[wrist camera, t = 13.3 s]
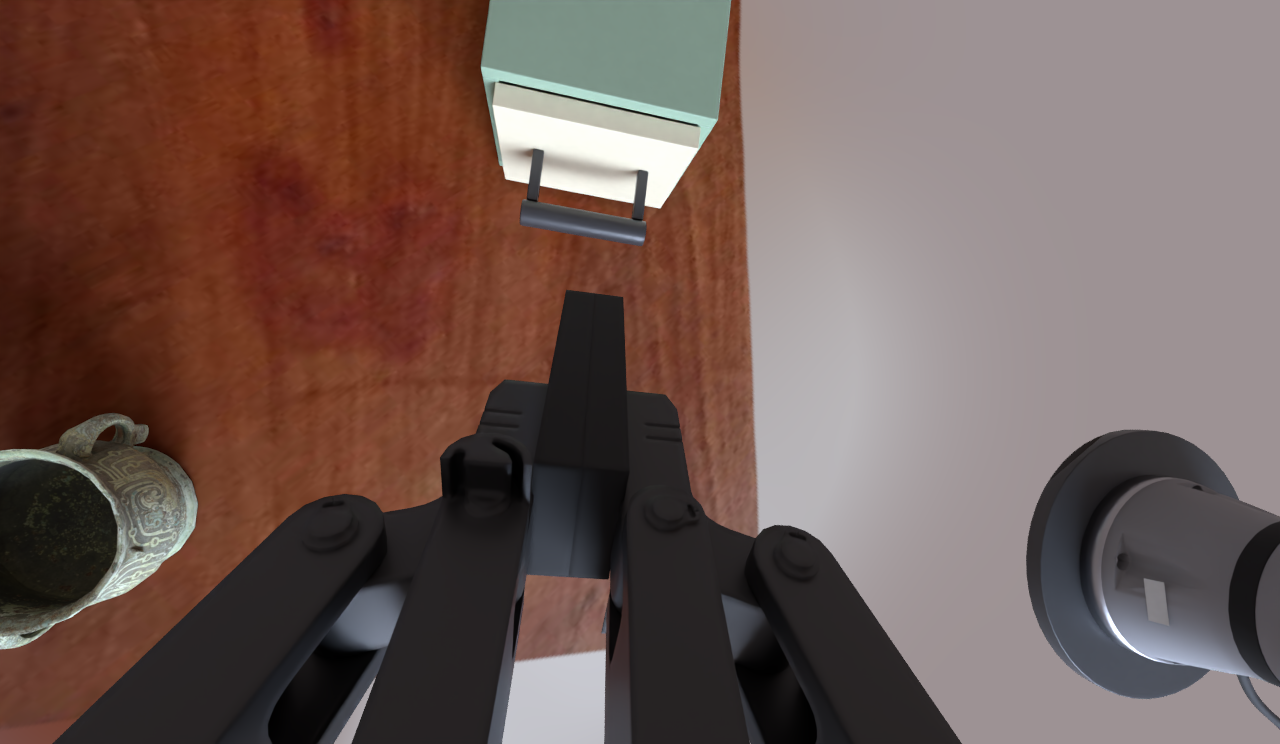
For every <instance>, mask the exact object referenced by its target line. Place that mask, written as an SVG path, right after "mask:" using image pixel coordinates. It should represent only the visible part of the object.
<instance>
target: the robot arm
mask: <svg viewBox="0 0 1280 744" xmlns="http://www.w3.org/2000/svg"><path fill="white" fill-rule="evenodd" d="M440 463H441V478H442V493H443V496H442V497H440V498H439V499H436V500H434V501H432V502H430V503H427V504H425V505H421V506H417V507H413V508H408V509H402V510H396V511H390V512H385V513H383V512H382V511H381V510H380V508H379V507H378V505H377V504H376V503H375V502H373V501H371V500H369V499H367V498H365V497H363V496H358V495H348V494H342V495H335V496H329V497H324V498H321V499H319V500H316V501H314V502H311V503H309V504H306V505H304V506H303V507H302V508H300V509H299V510H297V511H296V512H295V513H293V514H292V515H291V516H289V517H288V518H287V519H286V520H285V521H284V522H283V523H282V524H281V525H280V526H279V527H277V528H276V529H275V530H274V531H273V532H272V533H271V534H270V535H269V536H268V537H267V538H266V539H265V540H264V541H263V542H262V543H261V544H260V545H259V546H258V547H257V548H256V549H255V550H254V551H252V552H251V553H250V554H249V555H248V556H247V557H246V558H245V559H244V560H243V561H242V562H241V563H240V564H239V565H238V566H237V567H236V568H235V569H234V570H233V571H232V572H231V573H230V574H229V575H227V576H226V577H225V578H224V579H223V580H222V581H221V582H220V583H219V584H218V585H217V586H216V587H215V588H214V589H213V590H212V591H211V592H210V593H209V594H208V595H207V596H206V597H205V598H204V599H203V600H201V601H200V602H199V603H198V604H197V605H196V606H195V607H194V608H193V609H192V610H191V611H190V612H189V613H188V614H187V615H186V616H185V617H184V618H183V619H182V620H181V621H180V622H179V623H178V624H176V625H175V626H174V627H173V628H172V629H171V630H170V631H169V632H168V633H167V634H166V635H165V636H164V637H163V638H162V639H161V640H160V641H159V642H158V643H157V644H156V645H155V646H154V647H153V648H152V649H150V650H149V651H148V652H147V653H146V654H145V655H144V656H143V657H142V658H141V659H140V660H139V661H138V662H137V663H136V664H135V665H134V666H133V667H132V668H131V669H130V670H129V671H128V672H127V673H125V674H124V675H123V676H122V677H121V678H120V679H119V680H118V681H117V682H116V683H115V684H114V685H113V686H112V687H111V688H110V689H109V690H108V691H107V692H106V693H105V694H104V695H103V696H102V697H100V698H99V699H98V700H97V701H96V702H95V703H94V704H93V705H92V706H91V707H90V708H89V709H88V710H87V711H86V712H85V713H84V714H83V715H82V716H81V717H80V718H79V719H78V720H77V721H76V722H74V724H72V725H71V726H70V727H69V728H68V729H67V730H66V731H65V732H64V733H63V734H62V735H61V736H60V737H59V738H58V739H57V740H56V741H55V742H54V743H53V744H334V742H335V740H336V739H337V737H338V735H339V734H340V732H341V731H342V729H343V728H344V726H345V724H346V723H347V721H348V719H349V718H350V716H351V715H352V713H353V712H354V710H355V708H356V707H357V705H358V704H359V702H360V700H361V699H362V697H363V696H364V694H365V692H366V691H367V689H368V688H369V686H370V684H371V683H372V681H373V680H374V678H375V676H376V675H377V676H376V679H375V682H374V684H373V687H372V690H371V693H370V695H369V698H368V701H367V703H366V706H365V709H364V711H363V714H362V717H361V720H360V722H359V725H358V728H357V730H356V733H355V736H354V739H353V741H352V744H502V738H503V732H504V726H505V719H506V713H507V706H508V700H509V694H510V687H511V680H512V675H513V668H514V662H515V656H516V649H517V643H518V636H519V630H520V624H521V617H522V611H523V605H524V589H525V581H526V575H527V574H528V575H544V576H561V577H578V578H594V579H608V578H609V573H610V594H609V599H608V603H607V608H606V613H605V618H604V623H603V628H602V633H606V677H605V740H604V741H605V742H604V744H750V743H751V744H962V743H961V742H960V740H959V739H958V737H957V736H956V734H955V733H954V732H953V730H952V729H951V727H950V726H949V724H948V723H947V721H946V720H945V718H944V717H943V716H942V714H941V713H940V711H939V710H938V708H937V707H936V705H935V704H934V702H933V701H932V699H931V698H930V697H929V695H928V694H927V692H926V691H925V689H924V688H923V686H922V685H921V683H920V682H919V680H918V679H917V678H916V676H915V675H914V673H913V672H912V670H911V669H910V667H909V666H908V664H907V663H906V662H905V660H904V659H903V657H902V656H901V654H900V653H899V651H898V650H897V648H896V647H895V645H894V644H893V643H892V641H891V640H890V638H889V637H888V635H887V634H886V632H885V631H884V630H883V628H882V626H881V625H880V624H879V622H878V621H877V619H876V618H875V616H874V615H873V613H872V612H871V610H870V609H869V607H868V606H867V605H866V603H865V602H864V600H863V599H862V597H861V596H860V594H859V593H858V591H857V590H856V589H855V587H854V586H853V584H852V583H851V581H850V580H849V578H848V577H847V575H846V574H845V572H844V571H843V570H842V568H841V567H840V565H839V564H838V562H837V561H836V559H835V558H834V556H833V555H832V554H831V552H830V551H829V550H828V549H827V548H826V547H825V546H824V545H823V544H822V542H821V541H820V540H818V539H817V538H815V537H814V536H812V535H811V534H809V533H807V532H806V531H803V530H801V529H798V528H795V527H792V526H780V525H774V526H772V527H769V528H766V529H763V530H762V532H761V533H760V534H759V535H758V536H757V537H756V538H753V537H750V536H747V535H744V534H741V533H739V532H736V531H733V530H730V529H728V528H725V527H723V526H721V525H719V524H717V523H716V522H714V521H713V520H711V519H710V518H708V517H707V516H706V515H705V513H704V511H703V508H702V506H701V505H700V504H699V502H698V501H697V500H696V499H695V498H694V497H693V496H692V493H691V488H690V482H689V476H688V470H687V465H686V459H685V453H684V447H683V442H682V436H681V430H680V424H679V418H678V412H677V409H676V408H675V406H674V405H673V404H672V402H671V401H670V400H669V399H668V397H667V396H666V395H663V394H654V393H644V392H635V391H627V387H626V360H625V334H624V307H623V297H618V296H610V295H602V294H595V293H587V292H579V291H571V290H566V294H565V299H564V305H563V310H562V315H561V320H560V326H559V331H558V336H557V341H556V347H555V352H554V357H553V362H552V368H551V373H550V378H549V383H548V384H543V383H534V382H524V381H515V380H504V381H503V382H502V383H500V384H499V385H498V386H497V387H496V388H495V389H494V390H492V391H491V392H490V395H489V397H488V400H487V403H486V406H485V410H484V412H483V414H482V417H481V420H480V425H479V426H478V429H477V432H476V434H474V435H470V436H467V437H463V438H461V439H459V440H458V441H456V442H455V443H453V444H451V445H450V446H448V448H447V449H446V450H445V452H444V453H443V454H442V456H441V457H440ZM1080 578H1081V585H1082V589H1083V594H1084V597H1085V600H1086V603H1087V606H1088V608H1089V611H1090V613H1091V614H1092V616H1093V618H1094V620H1095V621H1096V623H1097V624H1098V626H1099V627H1100V628H1101V630H1102V631H1103V632H1104V633H1105V634H1106V635H1107V636H1108V637H1109V638H1110V639H1112V640H1113V641H1114V642H1115V643H1117V644H1119V645H1120V646H1122V647H1124V648H1126V649H1128V650H1131V651H1133V652H1135V653H1137V654H1140V655H1142V656H1144V657H1146V658H1149V659H1151V660H1154V661H1158V662H1163V663H1167V664H1175V665H1190V666H1195V667H1200V668H1205V669H1210V670H1215V671H1221V672H1226V673H1232V674H1237V676H1238V679H1239V682H1240V684H1241V686H1242V688H1243V690H1244V692H1245V694H1246V695H1247V697H1248V698H1249V700H1250V701H1251V702H1252V703H1253V705H1254V706H1255V707H1256V708H1257V709H1258V710H1259V711H1260V712H1261V713H1262V714H1263V715H1264V716H1266V717H1267V718H1268V719H1269V720H1270V721H1271V722H1272V723H1274V724H1275V725H1276V726H1277V727H1278V728H1279V729H1280V718H1279V717H1277V716H1276V715H1275V714H1274V713H1273V712H1272V711H1271V710H1270V709H1269V708H1268V707H1267V706H1266V705H1265V704H1264V703H1263V702H1262V700H1261V699H1260V698H1259V696H1258V695H1257V694H1256V692H1255V690H1254V688H1253V686H1252V684H1251V682H1250V679H1249V677H1254V678H1257V679H1261V680H1263V681H1266V682H1269V683H1271V684H1274V685H1276V686H1279V687H1280V517H1279V516H1277V515H1274V514H1272V513H1269V512H1267V511H1264V510H1262V509H1260V508H1257V507H1255V506H1252V505H1250V504H1247V503H1245V502H1242V501H1239V500H1237V499H1234V498H1231V497H1228V496H1225V495H1222V494H1219V493H1217V492H1216V491H1214V490H1212V489H1210V488H1208V487H1206V486H1203V485H1200V484H1197V483H1195V482H1192V481H1189V480H1185V479H1179V478H1172V477H1164V476H1157V475H1146V476H1139V477H1135V478H1132V479H1129V480H1127V481H1125V482H1123V483H1121V484H1120V485H1118V486H1117V487H1115V488H1114V489H1113V490H1112V491H1110V492H1109V493H1108V494H1107V495H1106V496H1105V497H1104V499H1103V500H1102V501H1101V502H1100V503H1099V505H1098V506H1097V508H1096V509H1095V511H1094V513H1093V515H1092V516H1091V518H1090V521H1089V523H1088V525H1087V528H1086V531H1085V534H1084V538H1083V541H1082V547H1081V554H1080ZM377 673H378V674H377ZM749 741H750V742H749Z"/></svg>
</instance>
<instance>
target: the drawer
mask: <svg viewBox="0 0 1280 744" xmlns="http://www.w3.org/2000/svg"><path fill="white" fill-rule="evenodd" d="M492 107H493V112H494V118H495V124H496V129H497V135H498V141H499V146H500V152H501V158H502V163H503V169H504V175H505V179H507V180H513V181H518V182H523V183H529V185H528V192H527V200H525V199H524V200H523V201H522V205H521V212H520V225H523V226H528V227H534V228H540V229H545V230H551V231H557V232H563V233H568V234H574V235H580V236H586V237H591V238H597V239H603V240H609V241H614V242H620V243H626V244H631V245H637V246H642V245H643V243H644V240H645V235H646V222H645V221H642V220H643V215H644V206H650V207H655V208H661V206H662V205H663V203H664V202H665V200H666V199H667V197H668V196H669V194H670V192H671V191H672V189H673V188H674V186H675V185H676V183H677V182H678V180H679V178H680V177H681V175H682V174H683V172H684V171H685V169H686V168H687V166H688V164H689V163H690V161H691V160H692V158H693V157H694V155H695V154H696V152H697V150H698V149H699V140H700V131H701V128H700V127H697V126H692V125H687V124H683V123H679V122H680V120H675V119H671V118H666V117H662V116H657V115H653V114H648V113H644V112H639V111H635V110H630V109H626V108H621V107H617V106H612V105H608V104H603V103H599V102H594V101H590V100H585V99H581V98H576V97H572V96H567V95H563V94H559V93H554V92H550V91H545V90H541V89H536V88H532V87H527V86H523V85H518V84H516V86H512V85H507V84H503V83H498V82H496V83H495V88H494V95H493V102H492ZM540 186H544V187H550V188H555V189H560V190H566V191H571V192H576V193H581V194H587V195H592V196H597V197H603V198H608V199H613V200H618V201H624V202H629V203H633V211H632V219H628V218H623V217H618V216H612V215H607V214H601V213H596V212H590V211H585V210H579V209H574V208H568V207H563V206H558V205H552V204H547V203H541V202H538V197H539V190H540Z"/></svg>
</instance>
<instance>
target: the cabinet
mask: <svg viewBox="0 0 1280 744" xmlns="http://www.w3.org/2000/svg"><path fill="white" fill-rule="evenodd" d="M730 6H731V0H490V3H489V10H488V17H487V24H486V32H485V39H484V46H483V53H482V60H481V71H482V76H483V81H484V86H485V91H486V96H487V102H488V107H489V112H490V117H491V123H492V128H493V133H494V138H495V144H496V149H497V154H498V160H499V165H500V166H503V163H502V158H501V152H500V146H499V141H498V135H497V129H496V124H495V118H494V112H493V107H492V102H493V95H494V88H495V83H496V82H498V83H503V84H507V85H512V86H516V84H518V85H523V86H527V87H532V88H536V89H541V90H545V91H550V92H554V93H559V94H563V95H567V96H572V97H576V98H581V99H585V100H590V101H594V102H599V103H603V104H608V105H612V106H617V107H621V108H626V109H630V110H635V111H639V112H644V113H648V114H653V115H657V116H662V117H666V118H671V119H675V120H680V122H679V123H683V124H687V125H692V126H697V127H700V128H701V131H700V140H699V148H700V147H701V145H702V144H703V142H704V140H705V139H706V137H707V136H708V134H709V133H710V131H711V130H712V128H713V126H714V125H715V123H716V122H717V120H718V113H719V104H720V95H721V86H722V77H723V68H724V59H725V50H726V41H727V32H728V24H729V15H730ZM698 150H699V149H698ZM698 150H697V151H698ZM696 153H697V152H696ZM694 156H695V155H694ZM693 158H694V157H693ZM693 158H692V159H693ZM691 161H692V160H691ZM691 161H690V162H691ZM689 164H690V163H689ZM689 164H688V165H689ZM687 167H688V166H687ZM685 170H686V169H685ZM683 173H684V172H683ZM682 175H683V174H682ZM682 175H681V176H682ZM680 178H681V177H680ZM680 178H679V179H680ZM678 181H679V180H678ZM676 184H677V183H676ZM674 187H675V186H674ZM673 189H674V188H673ZM673 189H672V190H673ZM671 192H672V191H671ZM671 192H670V193H671ZM669 195H670V194H669ZM667 198H668V197H667Z"/></svg>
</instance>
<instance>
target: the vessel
mask: <svg viewBox="0 0 1280 744" xmlns="http://www.w3.org/2000/svg"><path fill="white" fill-rule="evenodd" d="M111 425H114V426H115V427H116V433H115V436H114V438H113V440H112V441H109V442H106V441H96V439H97V437H98V436H99V434H100V433H101V432H102V431H104V430H105V429H106V428H107V427H109V426H111ZM148 432H149V428H148V425H144V424H137V425H136V424H134V422H133V421H132V420H131V419H130V418H129V417H127V416H124V415H121V414H118V413H108V414H103V415H99V416H96V417H93V418H91V419H89V420H87V421H85V422H83V423H81V424H80V425H78V426H75V427H73V428H71V429H69V430H67V431H66V432H65V433H64V434H63V435H62V436H61V437H60V440H59V444H55V445H51V446H48V447H45V448H42V449H39V450H37V449H11V450H2V451H0V649H9V648H15V647H20V646H23V645H25V644H28V643H29V642H31V641H33V640H35V639H36V638H38V637H39V636H41V635H42V634H44V633H45V632H46V631H47V630H49V629H50V628H51V627H52V626H53V625H54V624H55V623H58V622H61V621H63V620H66V619H69V618H71V617H72V616H74V615H75V614H76V613H78V612H79V611H81V610H82V609H83V608H85V607H86V606H89V605H92V604H95V603H98V602H101V601H104V600H107V599H110V598H113V597H116V596H118V595H121V594H124V593H126V592H128V591H129V590H131V589H132V588H134V587H135V586H136V585H138V584H139V583H140V582H142V581H143V580H144V579H146V578H147V577H148V576H150V575H151V574H152V573H154V572H155V571H156V570H157V569H158V568H159V566H160V565H161V563H162V562H163V561H164V560H166V559H167V558H169V557H170V556H172V555H173V554H174V553H176V552H177V551H179V550H180V549H181V547H182V546H183V545H184V543H185V542H186V540H187V539H188V537H189V536H190V534H191V533H192V531H193V530H194V528H195V522H196V515H197V507H198V502H197V498H196V495H195V491H194V487H193V483H192V481H191V480H190V478H189V477H188V476H187V474H186V473H185V472H184V470H183V469H182V468H181V466H180V465H179V464H178V463H177V462H175V461H174V460H173V459H171V458H170V457H169V456H167V455H165V454H163V453H161V452H159V451H157V450H154V449H150V448H146V447H140V446H133V445H135V444H139V443H142V442H144V441H145V440H146V438H147V436H148Z"/></svg>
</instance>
